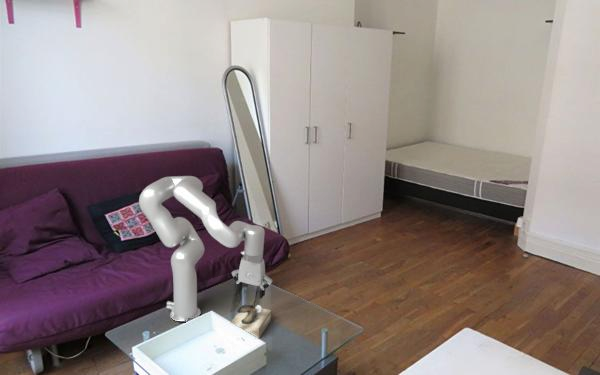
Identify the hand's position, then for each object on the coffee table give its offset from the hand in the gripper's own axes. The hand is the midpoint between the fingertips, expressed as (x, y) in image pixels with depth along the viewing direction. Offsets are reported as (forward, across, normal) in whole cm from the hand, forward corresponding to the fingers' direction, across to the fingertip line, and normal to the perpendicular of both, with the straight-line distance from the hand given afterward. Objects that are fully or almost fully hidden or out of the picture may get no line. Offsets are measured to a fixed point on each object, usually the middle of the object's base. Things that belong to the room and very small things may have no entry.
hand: (250, 294), depth 190 cm
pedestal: (+15, +1, 0) cm, 15 cm away
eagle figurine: (+10, +1, -2) cm, 10 cm away
